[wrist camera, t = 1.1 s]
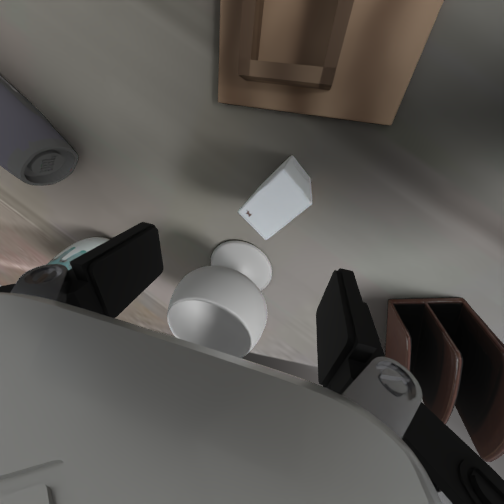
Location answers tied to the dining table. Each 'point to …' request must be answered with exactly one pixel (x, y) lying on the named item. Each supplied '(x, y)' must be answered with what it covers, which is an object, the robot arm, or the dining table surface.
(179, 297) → the chalice
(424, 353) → the letter holder
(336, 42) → the box stand
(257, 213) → the skincare box
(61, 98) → the dining table surface
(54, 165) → the bluetooth speaker
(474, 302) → the dining table surface
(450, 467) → the robot arm
